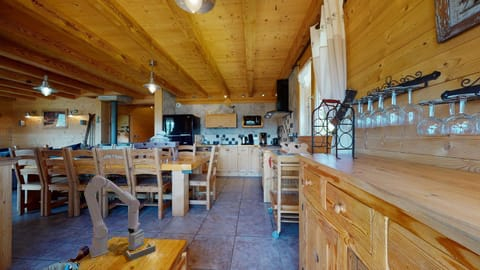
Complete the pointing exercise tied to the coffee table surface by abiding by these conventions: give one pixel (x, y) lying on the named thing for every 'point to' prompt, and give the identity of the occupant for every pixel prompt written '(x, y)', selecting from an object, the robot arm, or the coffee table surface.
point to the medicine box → (136, 239)
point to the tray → (141, 252)
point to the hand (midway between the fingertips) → (132, 239)
